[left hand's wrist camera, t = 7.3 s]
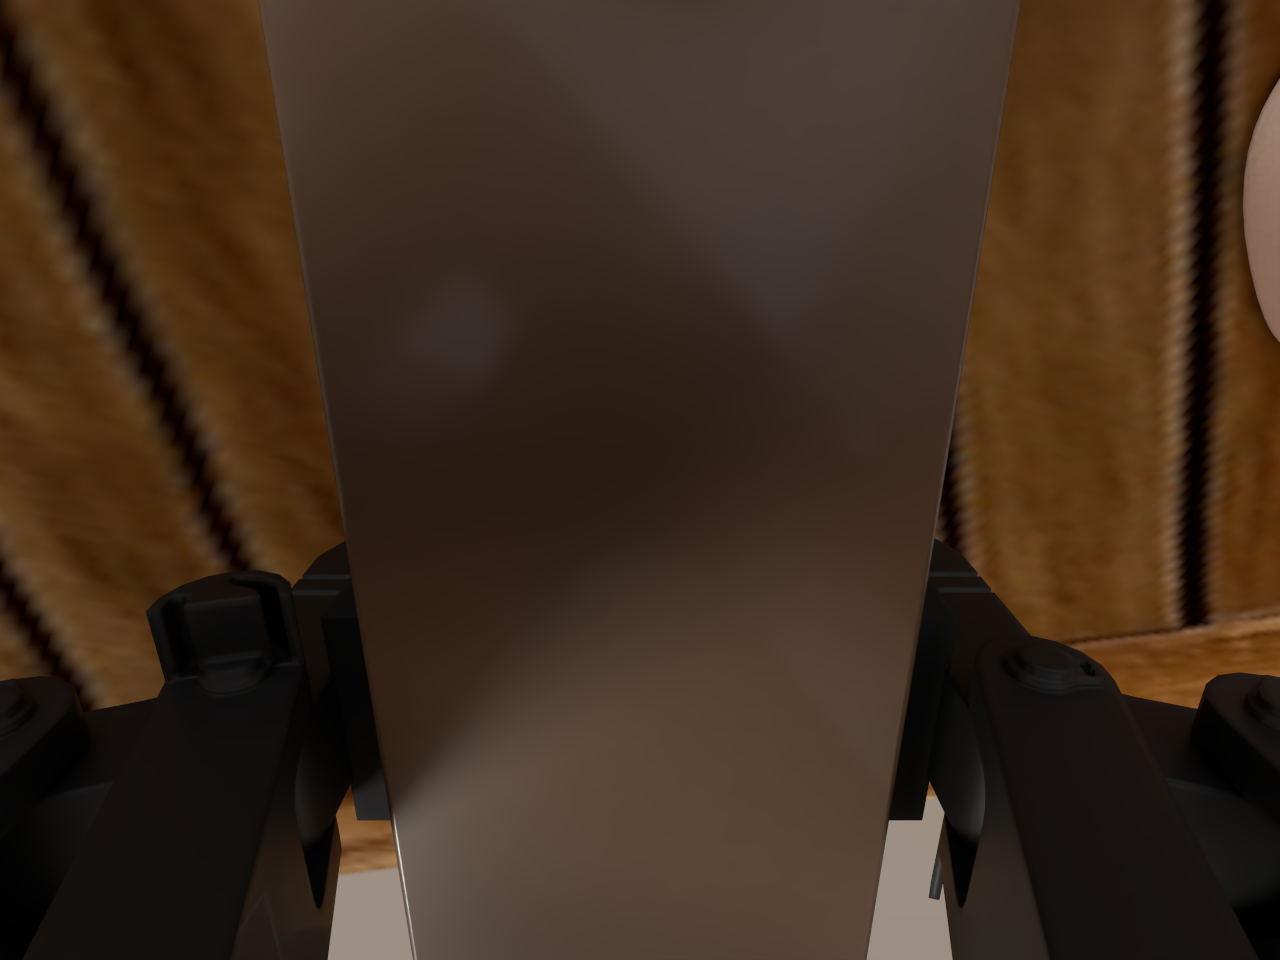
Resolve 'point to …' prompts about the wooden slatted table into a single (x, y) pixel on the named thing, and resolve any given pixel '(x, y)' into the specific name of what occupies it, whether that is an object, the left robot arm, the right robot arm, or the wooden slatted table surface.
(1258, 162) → the anatomical model
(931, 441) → the bar
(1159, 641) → the wooden slatted table surface
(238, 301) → the wooden slatted table surface
